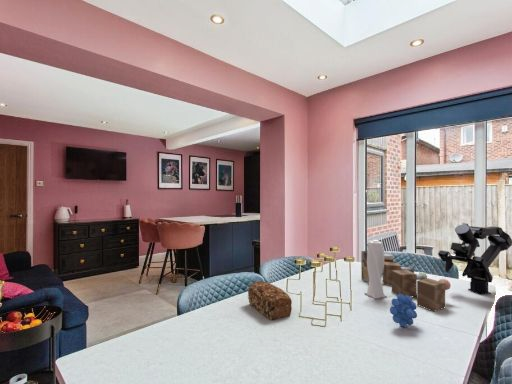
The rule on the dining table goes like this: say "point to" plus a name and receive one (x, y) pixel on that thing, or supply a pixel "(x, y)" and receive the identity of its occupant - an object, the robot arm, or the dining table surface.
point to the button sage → (421, 276)
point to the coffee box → (364, 266)
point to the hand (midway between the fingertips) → (454, 273)
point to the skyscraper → (375, 269)
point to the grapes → (403, 310)
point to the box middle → (404, 282)
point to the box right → (431, 294)
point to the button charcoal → (408, 268)
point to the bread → (269, 300)
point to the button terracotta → (446, 283)
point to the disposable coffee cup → (388, 257)
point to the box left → (389, 272)
